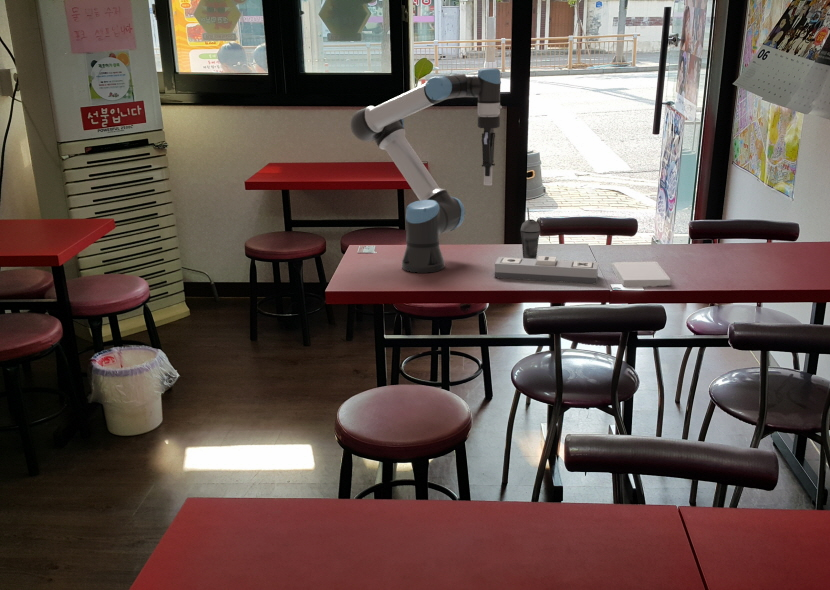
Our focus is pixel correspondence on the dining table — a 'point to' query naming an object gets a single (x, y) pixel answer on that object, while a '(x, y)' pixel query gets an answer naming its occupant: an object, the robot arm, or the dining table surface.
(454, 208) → the robot arm
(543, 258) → the bar
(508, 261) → the block
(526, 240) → the beverage cup
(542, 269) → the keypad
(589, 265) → the key cross
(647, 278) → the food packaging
